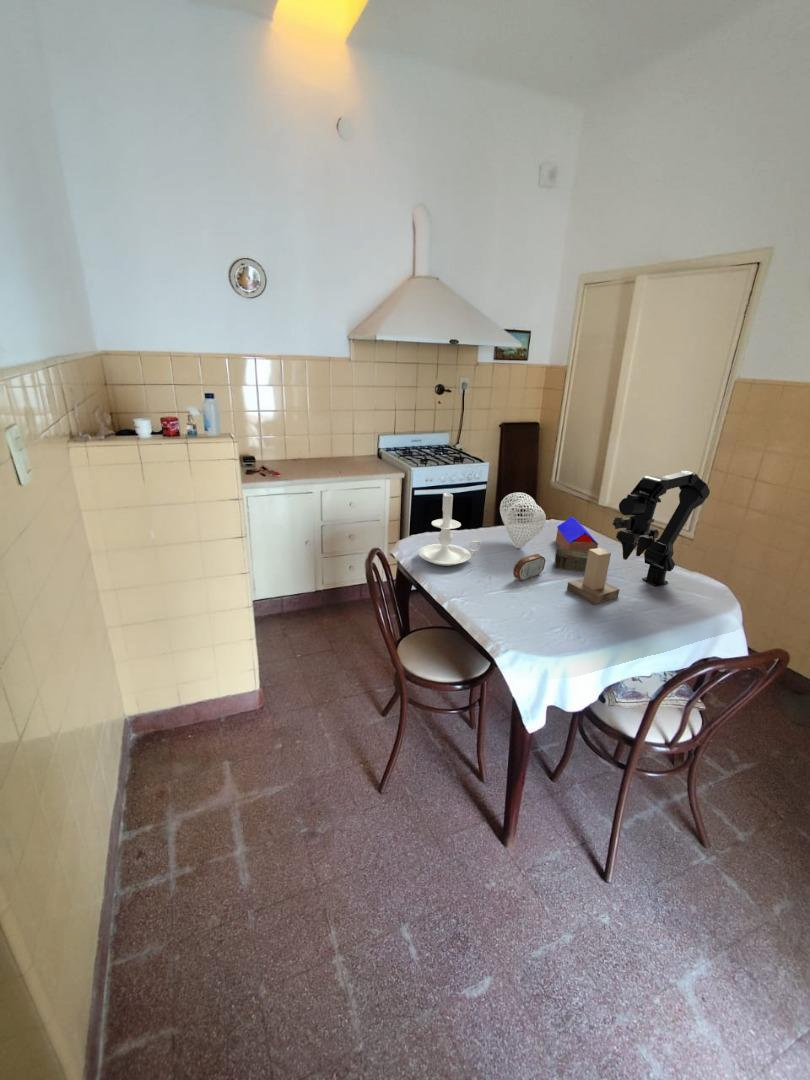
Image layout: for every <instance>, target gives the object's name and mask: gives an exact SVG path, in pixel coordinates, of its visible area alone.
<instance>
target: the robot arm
mask: <svg viewBox="0 0 810 1080" xmlns="http://www.w3.org/2000/svg"><path fill="white" fill-rule="evenodd" d="M675 488H679V491H680V492H679V493H678V499H679V500H678V501H679V503H678V505H677V507H676V508H675V509H674V512H673V513H672V515H671V517H670V518H669V521H668V522H667V524H666V525H665V528H664V529H663V531H662V532H661V534H660V532H659V531H658V530H659V529H657V528H653V527H651V524H652V523H654V522H655V518H653V517H654V514H655V511H656V508H657V505H658V503H662V499H661V498H660V497H661V496H663V495H665V494H666V493H667V491H668V490H669V491H670V490H671V489H672V490H673V489H675ZM710 493H711V492H710V488H709V485H708V484H707V483H706V482H705V481H703V480H702V479H701V478H700V477H699V475H698V474H697V473H696V472H693V471H689V470H681V471H679V472H676V473H671V474H667V475H663V476H653V475H645V476H643V477H642V478H641V479H640V480H639V481H638V483H637V484H636V486H634V488H633V489H632V490H631V492H630V493H628V494H627V496H626V497H624V498H622V499H621V500H620V502H619V504H618V510H619V512H620V514H622V515H624V516H629V518H623V517H622V516H620V517H614V520H612V521H613V522H612V526H614V529H615V530H618V529H622V530H618V531H617V532H616V535H615V538H616V539H617V541H619V542H620V543H621V546H622V559H623V560H625V561H627V560H628V559H629V557H630V556H631V554H632V553H633V552H634V550H635V549H636V550H635V556H636V557H640V556H641V555H642V554H643V553H644V554H643V558H644V564H646V565H649V567H648V570H647V573H646V576H645V577H643V578H641V579H642V581H644V582H646V583H648V584H650V585H653V586H655V587H660V586H663V585H665V584H669V581H668V580H666V575H667V572H672V570H674V568H675V566H676V563H675V561H674V559H673V556H674V543H675V542H676V540H677V539H678V537H679V535H680V533H681V532H682V530H683V528H684V527H685V525H686V523H687V521H688V519H689V518H690V516H691V514H692V512H693V511H694V509H696V508H698V507H699V506H702V505H703V503H705V501H706V499H708V497H709V495H710Z"/></svg>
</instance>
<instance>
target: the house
mask: <svg viewBox="0 0 810 1080" xmlns="http://www.w3.org/2000/svg"><path fill="white" fill-rule="evenodd" d="M556 527H557V531H556V538H555V542H556V544H557V545H558V544H559V545H558V546H559V548H560V547H561V548H563V549H572V550H580V551H588V552H589V549H595V548H599V546H598V545H599V543H598V542H597V540H596V539H595V538H594V537H593V536H592V535H591V533H590V532H589V531H588V530H587V529H586V528H585V527H584V526H583V525H582V524H581V523H580V522H579V521H578V520H577V519H576V518H574V516H571V517H570V518H568V519H566V520H565V521H564V522H562V523H560V524H559V525H558V526H556Z"/></svg>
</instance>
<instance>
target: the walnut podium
mask: <svg viewBox="0 0 810 1080" xmlns="http://www.w3.org/2000/svg"><path fill="white" fill-rule="evenodd" d="M583 580H584V577H582V578H578V579H576V580H571V581H568V582H567V587H566V590H567V591H568V592H570V593H572V594H573V595H575V596H578V597H579V598H581V599H582V600H585V601H586V602H589V603H590V604H592V605H594V606H595V605H597V604H601V603H604V602H607V601H610V600H614V599H617V598H618V597H619V596H620V595H619V594H620V588H618V587H616V586H614V585H612V584H610V583H608V582H605V587H604V588H601V589H595V590H592V589H590V588H589V587H587V586H586V585H584V584H583Z"/></svg>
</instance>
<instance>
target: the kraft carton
mask: <svg viewBox="0 0 810 1080" xmlns="http://www.w3.org/2000/svg"><path fill="white" fill-rule="evenodd" d="M611 555H612V553H611V552H610V551H608V550H605V549H604V548H602V547H597V548H595V549H589V552H588V557H587V563H586V569H585V572H584V574H583V575H584V576H583V578H584V580H583V584H584V585H586V586H587V587H589V588H590V589H592V590H595V589H601V588H604V587H605V582H606V581H607V577H608V572H609V571H608V570H609V565H610V560H611ZM606 583H607V582H606Z"/></svg>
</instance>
